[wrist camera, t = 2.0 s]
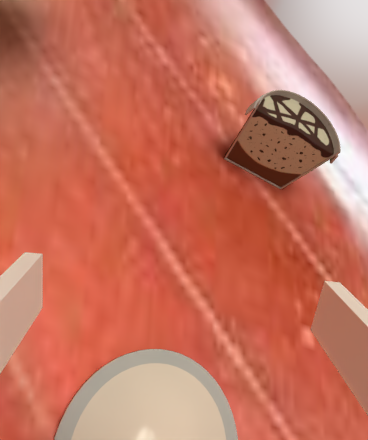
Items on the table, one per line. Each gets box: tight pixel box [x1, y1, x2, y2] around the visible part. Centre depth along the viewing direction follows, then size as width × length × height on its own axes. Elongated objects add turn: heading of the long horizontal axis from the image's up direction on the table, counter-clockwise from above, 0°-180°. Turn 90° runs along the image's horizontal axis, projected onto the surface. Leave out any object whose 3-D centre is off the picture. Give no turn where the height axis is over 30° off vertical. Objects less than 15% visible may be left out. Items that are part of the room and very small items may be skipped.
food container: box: [224, 90, 340, 189], centre depth 43 cm, size 12×6×10 cm, turn 72°
